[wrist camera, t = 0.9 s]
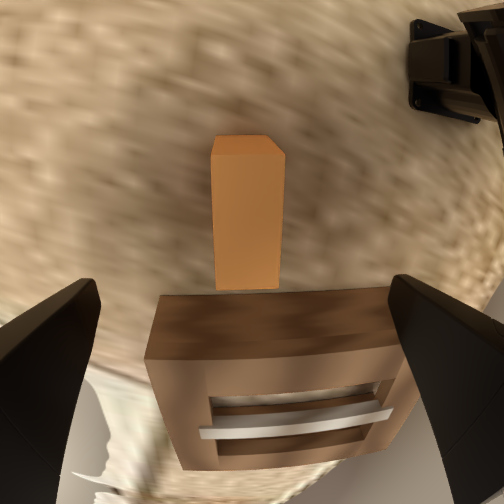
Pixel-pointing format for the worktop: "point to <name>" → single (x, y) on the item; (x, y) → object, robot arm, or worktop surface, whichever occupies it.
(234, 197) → the orange angular block
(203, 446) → the shelf
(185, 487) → the worktop surface
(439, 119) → the worktop surface
